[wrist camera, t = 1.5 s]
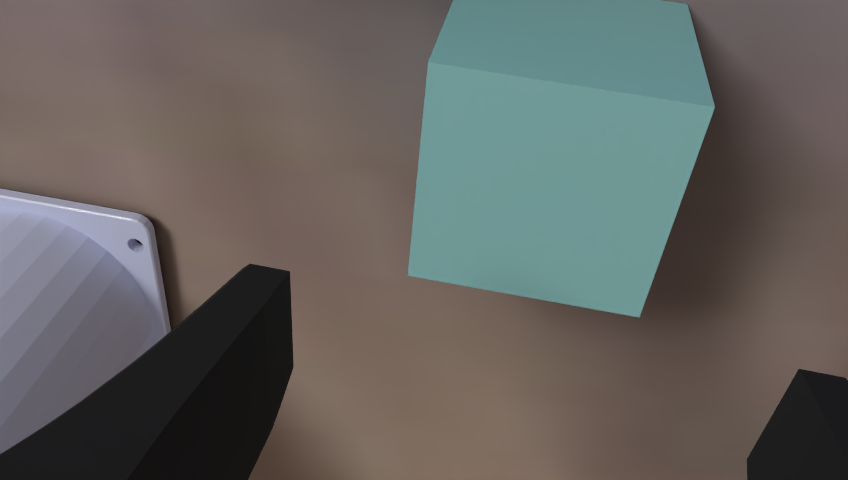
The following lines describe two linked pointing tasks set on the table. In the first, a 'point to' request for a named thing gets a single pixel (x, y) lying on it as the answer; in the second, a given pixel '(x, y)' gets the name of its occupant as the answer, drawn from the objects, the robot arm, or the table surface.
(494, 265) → the teal cube
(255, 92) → the table surface
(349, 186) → the table surface
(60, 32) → the table surface
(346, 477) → the table surface
